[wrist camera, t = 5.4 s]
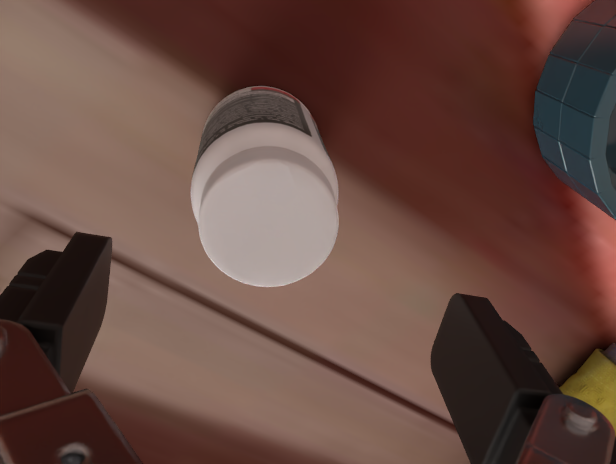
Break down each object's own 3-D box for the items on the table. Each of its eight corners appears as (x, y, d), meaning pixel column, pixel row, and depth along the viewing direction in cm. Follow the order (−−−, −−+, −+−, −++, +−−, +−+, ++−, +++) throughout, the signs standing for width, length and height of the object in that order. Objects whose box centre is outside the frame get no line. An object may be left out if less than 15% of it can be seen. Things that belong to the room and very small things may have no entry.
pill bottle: (177, 141, 24) (145, 228, 16) (260, 58, 23) (266, 109, 15) (261, 217, 26) (266, 327, 18) (341, 143, 24) (383, 226, 17)
